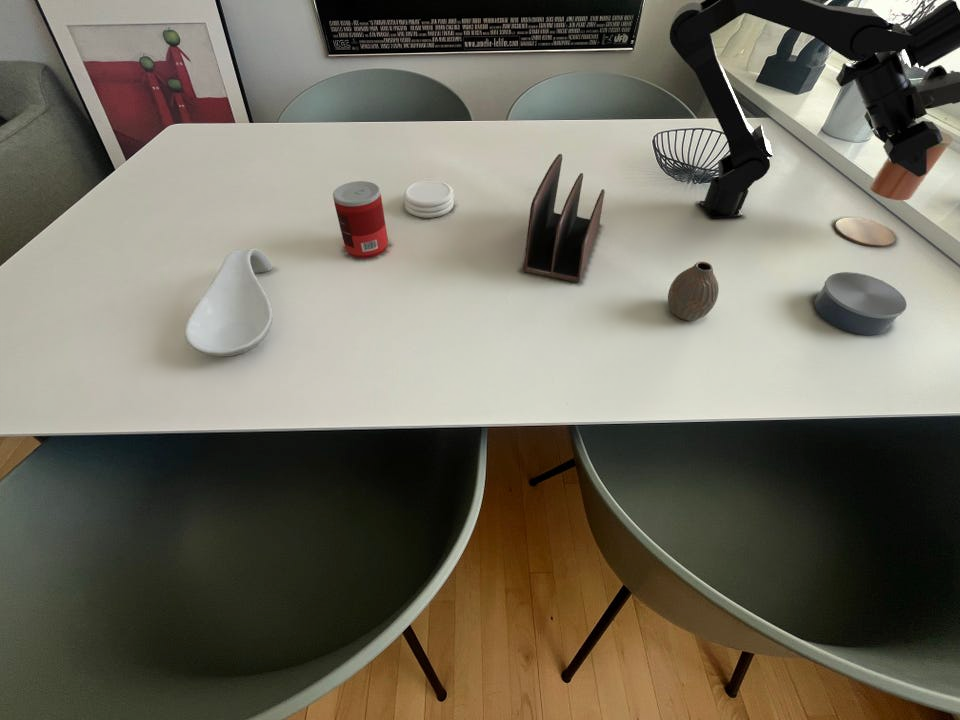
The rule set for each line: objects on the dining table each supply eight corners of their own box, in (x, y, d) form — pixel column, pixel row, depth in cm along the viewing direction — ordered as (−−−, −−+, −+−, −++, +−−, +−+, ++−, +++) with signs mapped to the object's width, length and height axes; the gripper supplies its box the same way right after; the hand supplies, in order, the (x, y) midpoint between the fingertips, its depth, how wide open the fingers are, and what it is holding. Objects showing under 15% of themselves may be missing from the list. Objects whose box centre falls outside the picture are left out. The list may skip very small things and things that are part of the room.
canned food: (396, 241, 90) (388, 185, 82) (372, 264, 85) (361, 206, 77) (362, 232, 92) (351, 177, 84) (337, 253, 87) (322, 197, 79)
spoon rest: (274, 364, 68) (257, 326, 63) (186, 373, 66) (161, 336, 61) (292, 267, 84) (280, 231, 79) (222, 273, 83) (205, 237, 78)
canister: (914, 204, 83) (955, 146, 76) (868, 194, 85) (905, 137, 78) (911, 188, 87) (950, 131, 80) (868, 179, 90) (902, 123, 82)
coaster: (396, 213, 97) (394, 197, 95) (418, 191, 104) (417, 175, 101) (441, 223, 94) (440, 206, 92) (461, 200, 101) (460, 184, 98)
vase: (710, 329, 73) (732, 283, 67) (664, 323, 74) (681, 277, 68) (705, 301, 78) (725, 255, 71) (661, 296, 79) (677, 250, 72)
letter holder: (522, 272, 83) (528, 196, 73) (549, 217, 96) (558, 146, 86) (579, 284, 81) (593, 207, 71) (599, 226, 94) (614, 153, 84)
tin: (840, 338, 72) (855, 318, 69) (799, 294, 79) (811, 274, 76) (906, 333, 73) (924, 313, 70) (859, 289, 80) (874, 269, 77)
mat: (856, 248, 89) (858, 246, 88) (824, 220, 96) (825, 218, 95) (906, 245, 89) (908, 243, 89) (870, 217, 96) (871, 216, 96)
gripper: (973, 69, 66) (1003, 160, 71) (931, 36, 78) (960, 117, 84) (874, 122, 73) (908, 201, 79) (849, 84, 85) (881, 155, 91)
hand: (916, 166), depth 83 cm, fingers closed on canister, 6 cm apart
